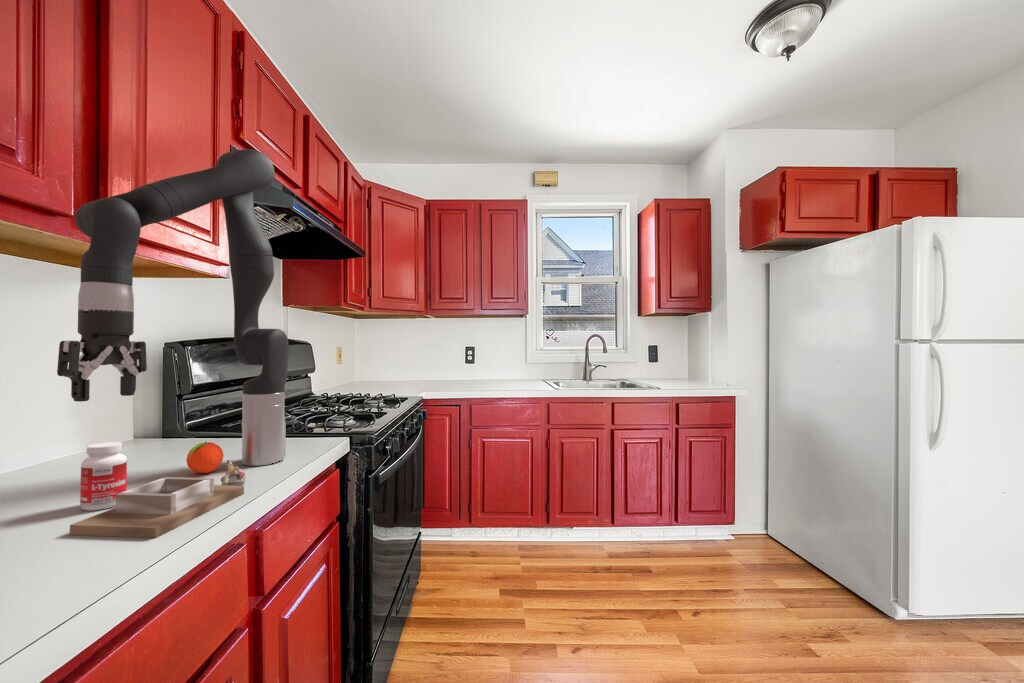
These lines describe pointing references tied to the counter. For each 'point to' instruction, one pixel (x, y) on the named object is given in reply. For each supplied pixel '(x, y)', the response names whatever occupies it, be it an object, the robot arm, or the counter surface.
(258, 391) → the robot arm
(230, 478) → the figurine
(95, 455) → the pill bottle
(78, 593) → the counter surface
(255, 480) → the counter surface
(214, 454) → the clementine
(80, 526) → the bottle holder
